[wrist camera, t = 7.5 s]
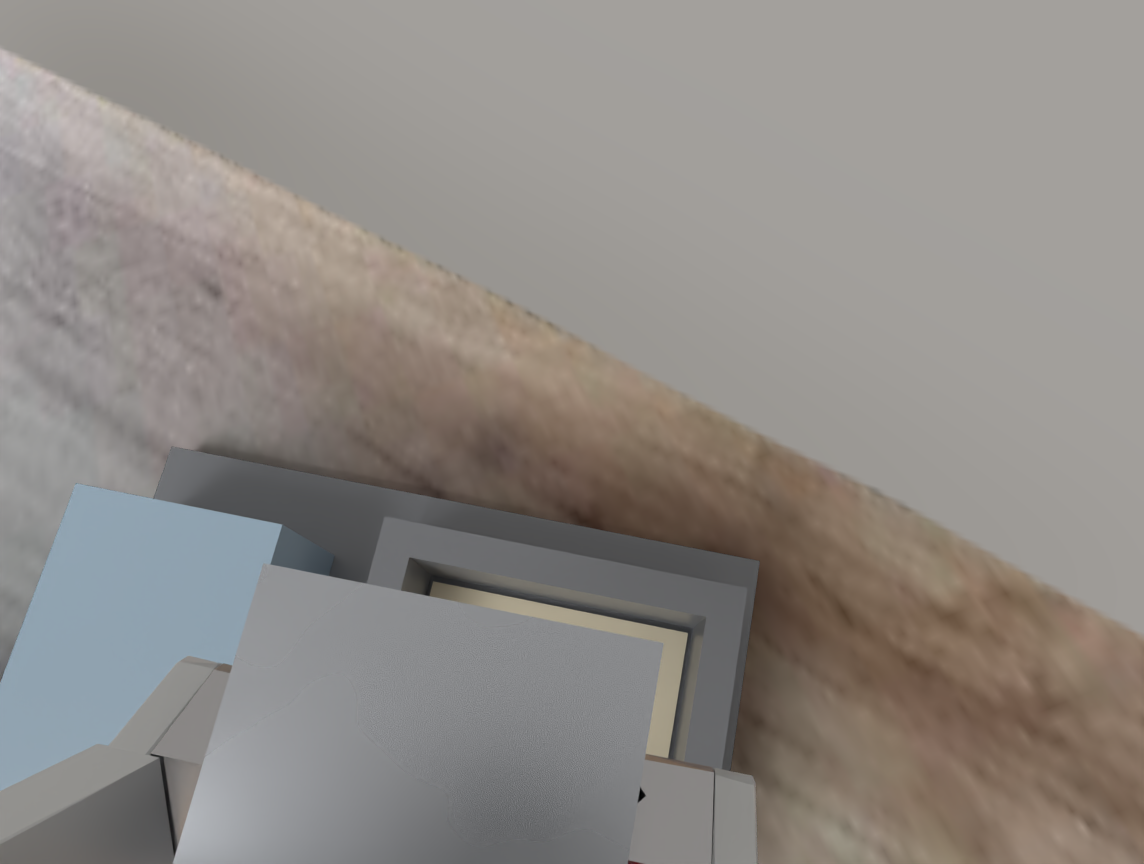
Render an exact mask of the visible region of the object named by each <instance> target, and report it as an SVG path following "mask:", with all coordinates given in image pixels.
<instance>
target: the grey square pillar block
mask: <svg viewBox="0 0 1144 864" xmlns="http://www.w3.org/2000/svg"><path fill="white" fill-rule="evenodd" d="M663 645H664V643H661V642H656V641H651V640H646V639H641V638H636V637H631V636H626V635H621V634H616V633H611V632H606V631H601V630H596V629H591V628H586V627H581V626H576V625H571V624H566V623H561V622H556V621H551V620H546V619H541V618H536V617H531V616H526V615H521V614H516V613H511V612H506V611H501V610H496V609H491V608H486V607H481V606H476V605H471V604H466V603H461V602H456V601H451V600H446V599H441V598H436V597H431V596H426V595H421V594H416V593H411V592H406V591H401V590H396V589H391V588H386V587H381V586H376V585H371V584H366V583H361V582H356V581H351V580H346V579H340V578H335V577H330V576H325V575H320V574H315V573H310V572H305V571H300V570H295V569H290V568H285V567H280V566H275V565H270V564H265V563H263V566H262V569H261V572H260V576H259V579H258V582H257V586H256V589H255V592H254V596H253V599H252V602H251V606H250V609H249V612H248V615H247V619H246V622H245V625H244V629H243V632H242V635H241V639H240V642H239V645H238V649H237V652H236V655H235V659H234V662H233V665H232V669H231V672H230V675H229V678H228V682H227V685H226V688H225V692H224V695H223V698H222V702H221V705H220V708H219V712H218V715H217V718H216V722H215V725H214V728H213V732H212V735H211V738H210V741H209V745H208V748H207V751H206V755H205V758H204V761H203V765H202V768H201V771H200V775H199V778H198V781H197V785H196V788H195V791H194V795H193V798H192V801H191V804H190V808H189V811H188V814H187V818H186V821H185V824H184V828H183V831H182V834H181V838H180V841H179V844H178V848H177V851H176V854H175V858H174V861H173V864H628V858H629V852H630V846H631V840H632V834H633V828H634V821H635V815H636V809H637V803H638V797H639V791H640V785H641V779H642V773H643V767H644V761H645V754H646V748H647V742H648V736H649V730H650V724H651V718H652V712H653V706H654V700H655V694H656V687H657V681H658V675H659V669H660V663H661V657H662V651H663Z"/></svg>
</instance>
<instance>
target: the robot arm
mask: <svg viewBox="0 0 1144 864" xmlns="http://www.w3.org/2000/svg"><path fill="white" fill-rule="evenodd" d="M231 669H232V665H229V664H225V663H223V664H222V663H218V662H214V661H210V660H205V659H201V658H197V657H193V656H187V657H185V658H184V659H182V660H180V661H179V662H177V663H176V664H175V665H174V667H173V668H172V669H171V670H170V671H169V673H168V674H167V675H166V676H165V678H164V679H163V680H162V681H161V682H160V684H159V685H158V686H157V687H156V688H155V690H154V691H153V692H152V693H151V694H150V696H149V697H148V698H147V699H146V701H145V702H144V703H143V704H142V705H141V707H140V708H139V709H138V710H137V711H136V713H135V714H134V715H133V716H132V718H131V719H130V720H129V721H128V722H127V724H126V725H125V726H124V727H123V728H122V730H121V731H120V732H119V733H118V735H117V736H116V737H115V738H114V739H113V741H112V742H111V743H110V744H109V745H108V746H107V745H102V744H96V745H94V746H92V747H90V748H88V749H86V750H84V751H81V752H79V753H77V754H75V755H73V756H71V757H69V758H67V759H65V760H63V761H61V762H59V763H57V764H55V765H53V766H51V767H49V768H47V769H44V770H42V771H40V772H38V773H36V774H34V775H32V776H30V777H28V778H26V779H24V780H22V781H20V782H18V783H16V784H14V785H12V786H10V787H7V788H5V789H3V790H1V791H0V864H173V861H174V858H175V854H176V851H177V848H178V844H179V841H180V838H181V834H182V831H183V828H184V824H185V821H186V818H187V814H188V811H189V808H190V804H191V801H192V798H193V795H194V791H195V788H196V785H197V781H198V778H199V775H200V771H201V768H202V765H203V761H204V758H205V755H206V751H207V748H208V745H209V741H210V738H211V735H212V732H213V728H214V725H215V722H216V718H217V715H218V712H219V708H220V705H221V702H222V698H223V695H224V692H225V688H226V685H227V682H228V678H229V675H230V672H231ZM628 864H758V853H757V816H756V783H755V780H754V778H753V776H752V775H747V774H742V773H737V772H732V771H727V770H723V769H718V768H714V769H712V767H709V766H704V765H699V764H695V763H690V762H685V761H680V760H675V759H670V758H665V757H660V756H655V755H650V754H645V761H644V767H643V773H642V779H641V785H640V791H639V797H638V803H637V809H636V815H635V821H634V828H633V834H632V840H631V846H630V852H629V858H628Z"/></svg>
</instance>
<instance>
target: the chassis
mask: <svg viewBox="0 0 1144 864" xmlns="http://www.w3.org/2000/svg"><path fill="white" fill-rule="evenodd" d="M263 563H265V564H270V565H275V566H280V567H285V568H290V569H295V570H300V571H305V572H310V573H315V574H320V575H325V576H330V577H335V578H340V579H346V580H351V581H356V582H361V583H366V584H371V585H376V586H381V587H386V588H391V589H396V590H401V591H406V592H411V593H416V594H421V595H426V596H431V597H436V598H441V599H446V600H451V601H456V602H461V603H466V604H471V605H476V606H481V607H486V608H491V609H496V610H501V611H506V612H511V613H516V614H521V615H526V616H531V617H536V618H541V619H546V620H551V621H556V622H561V623H566V624H571V625H576V626H581V627H586V628H591V629H596V630H601V631H606V632H611V633H616V634H621V635H626V636H631V637H636V638H641V639H646V640H651V641H656V642H661V643H664V645H663V651H662V657H661V663H660V669H659V675H658V681H657V687H656V694H655V700H654V706H653V712H652V718H651V724H650V730H649V736H648V742H647V748H646V754H650V755H655V756H660V757H665V758H670V759H675V760H680V761H685V762H690V763H695V764H699V765H704V766H709V767H712V769H714V768H718V769H723V770H727V771H730V770H731V762H732V755H733V748H734V741H735V734H736V727H737V720H738V713H739V706H740V698H741V691H742V684H743V677H744V670H745V663H746V656H747V649H748V641H749V634H750V627H751V620H752V613H753V606H754V599H755V592H756V585H757V577H758V570H759V563H760V561H757V560H752V559H747V558H742V557H737V556H731V555H726V554H721V553H716V552H711V551H706V550H701V549H696V548H690V547H685V546H680V545H675V544H670V543H665V542H660V541H655V540H649V539H644V538H639V537H634V536H629V535H624V534H619V533H613V532H608V531H603V530H598V529H593V528H588V527H583V526H578V525H572V524H567V523H562V522H557V521H552V520H547V519H542V518H537V517H531V516H526V515H521V514H516V513H511V512H506V511H501V510H496V509H490V508H485V507H480V506H475V505H470V504H465V503H460V502H455V501H449V500H444V499H439V498H434V497H429V496H424V495H419V494H413V493H408V492H403V491H398V490H393V489H388V488H383V487H378V486H372V485H367V484H362V483H357V482H352V481H347V480H342V479H337V478H331V477H326V476H321V475H316V474H311V473H306V472H301V471H296V470H290V469H285V468H280V467H275V466H270V465H265V464H260V463H255V462H249V461H244V460H239V459H234V458H229V457H224V456H219V455H213V454H208V453H203V452H198V451H193V450H188V449H183V448H178V447H171V450H170V453H169V456H168V458H167V461H166V464H165V467H164V470H163V473H162V475H161V478H160V481H159V484H158V487H157V490H156V493H155V495H154V498H153V499H152V498H147V497H142V496H137V495H132V494H127V493H122V492H117V491H112V490H107V489H102V488H98V487H93V486H88V485H83V484H78V483H76V484H75V487H74V490H73V492H72V495H71V498H70V500H69V503H68V505H67V508H66V511H65V513H64V516H63V519H62V521H61V524H60V527H59V529H58V532H57V534H56V537H55V540H54V542H53V545H52V548H51V550H50V553H49V555H48V558H47V561H46V563H45V566H44V569H43V571H42V574H41V577H40V579H39V582H38V584H37V587H36V590H35V592H34V595H33V598H32V600H31V603H30V606H29V608H28V611H27V613H26V616H25V619H24V621H23V624H22V627H21V629H20V632H19V634H18V637H17V640H16V642H15V645H14V648H13V650H12V653H11V656H10V658H9V661H8V663H7V666H6V669H5V671H4V674H3V677H2V679H1V682H0V791H1V790H3V789H5V788H7V787H10V786H12V785H14V784H16V783H18V782H20V781H22V780H24V779H26V778H28V777H30V776H32V775H34V774H36V773H38V772H40V771H42V770H44V769H47V768H49V767H51V766H53V765H55V764H57V763H59V762H61V761H63V760H65V759H67V758H69V757H71V756H73V755H75V754H77V753H79V752H81V751H84V750H86V749H88V748H90V747H92V746H94V745H96V744H102V745H107V746H108V745H109V744H110V743H111V742H112V741H113V739H114V738H115V737H116V736H117V735H118V733H119V732H120V731H121V730H122V728H123V727H124V726H125V725H126V724H127V722H128V721H129V720H130V719H131V718H132V716H133V715H134V714H135V713H136V711H137V710H138V709H139V708H140V707H141V705H142V704H143V703H144V702H145V701H146V699H147V698H148V697H149V696H150V694H151V693H152V692H153V691H154V690H155V688H156V687H157V686H158V685H159V684H160V682H161V681H162V680H163V679H164V678H165V676H166V675H167V674H168V673H169V671H170V670H171V669H172V668H173V667H174V665H175V664H176V663H177V662H179V661H180V660H182V659H184V658H185V657H187V656H193V657H197V658H201V659H205V660H210V661H214V662H218V663H222V664H223V663H225V664H229V665H233V662H234V659H235V655H236V652H237V649H238V645H239V642H240V639H241V635H242V632H243V629H244V625H245V622H246V619H247V615H248V612H249V609H250V606H251V602H252V599H253V596H254V592H255V589H256V586H257V582H258V579H259V576H260V572H261V569H262V566H263Z"/></svg>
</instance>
